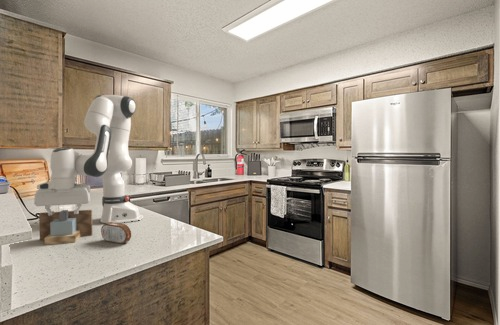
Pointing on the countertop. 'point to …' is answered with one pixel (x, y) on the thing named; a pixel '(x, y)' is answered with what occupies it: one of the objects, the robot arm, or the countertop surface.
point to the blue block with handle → (63, 225)
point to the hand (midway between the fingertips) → (63, 214)
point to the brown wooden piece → (81, 230)
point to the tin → (116, 232)
